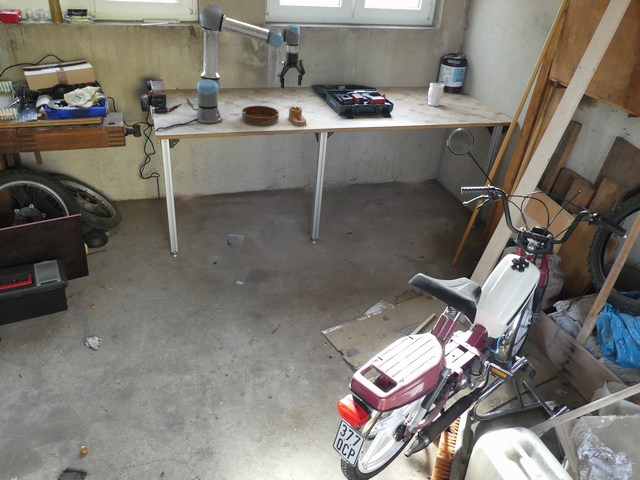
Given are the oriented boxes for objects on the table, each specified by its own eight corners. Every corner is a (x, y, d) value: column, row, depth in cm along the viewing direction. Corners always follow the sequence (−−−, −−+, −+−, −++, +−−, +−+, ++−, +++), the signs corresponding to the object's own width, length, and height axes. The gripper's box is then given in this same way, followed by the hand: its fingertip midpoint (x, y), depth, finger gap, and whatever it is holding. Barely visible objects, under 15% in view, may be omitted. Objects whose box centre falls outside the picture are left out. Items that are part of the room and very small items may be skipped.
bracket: (287, 116, 346) (287, 106, 342) (299, 116, 348) (299, 106, 345) (295, 126, 331) (295, 115, 328) (307, 126, 334) (308, 115, 330)
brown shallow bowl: (252, 128, 323) (252, 119, 320) (235, 116, 339) (235, 108, 336) (285, 123, 335) (285, 115, 332) (267, 112, 350) (267, 104, 347)
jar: (425, 105, 391) (429, 85, 383) (426, 101, 400) (430, 81, 392) (440, 107, 389) (444, 87, 381) (440, 103, 398) (444, 83, 390)
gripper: (279, 55, 315) (278, 90, 326) (312, 51, 329) (310, 85, 340) (272, 52, 320) (271, 87, 331) (304, 49, 334) (302, 82, 345)
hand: (291, 86), depth 336 cm, fingers open, 13 cm apart
